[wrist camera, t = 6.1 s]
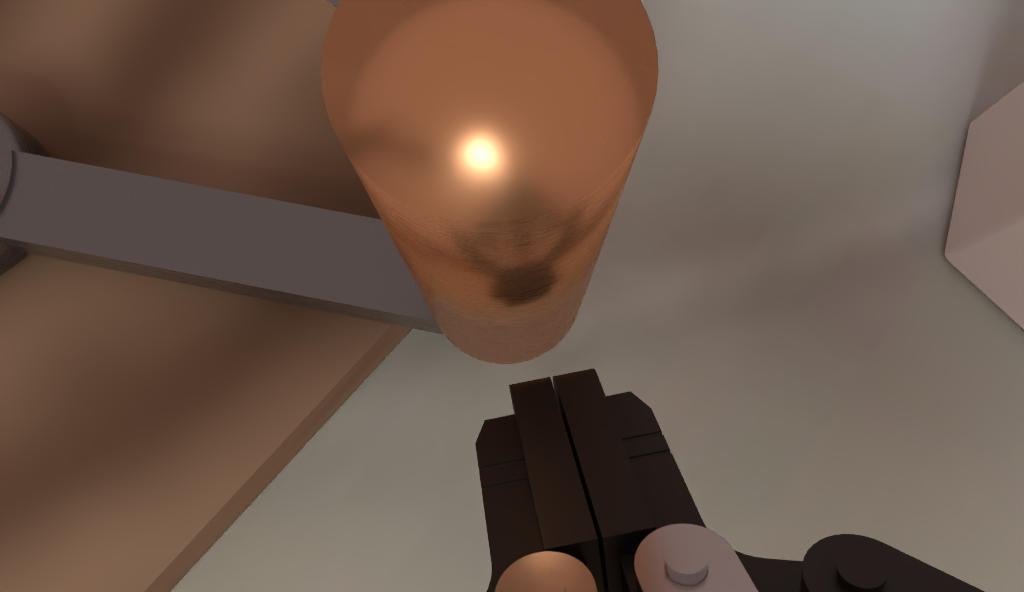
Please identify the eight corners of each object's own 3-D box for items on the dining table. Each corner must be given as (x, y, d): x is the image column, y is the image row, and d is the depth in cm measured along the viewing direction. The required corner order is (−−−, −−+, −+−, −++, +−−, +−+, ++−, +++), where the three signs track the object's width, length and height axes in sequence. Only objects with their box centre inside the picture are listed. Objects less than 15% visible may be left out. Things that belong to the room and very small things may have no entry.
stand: (-500, 262, 23) (-624, 236, 20) (166, -282, 27) (131, -357, 25) (-33, 811, 19) (-115, 861, 17) (640, 80, 24) (654, 35, 21)
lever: (-161, 270, 20) (-1091, -9, 8) (-90, 101, 21) (-824, -350, 10) (557, 413, 19) (617, 318, 7) (591, 227, 20) (689, -107, 8)
